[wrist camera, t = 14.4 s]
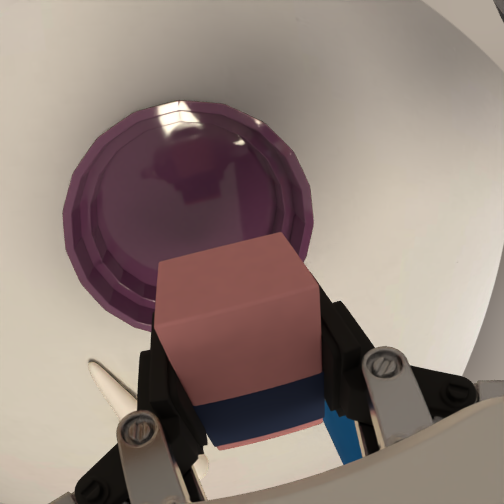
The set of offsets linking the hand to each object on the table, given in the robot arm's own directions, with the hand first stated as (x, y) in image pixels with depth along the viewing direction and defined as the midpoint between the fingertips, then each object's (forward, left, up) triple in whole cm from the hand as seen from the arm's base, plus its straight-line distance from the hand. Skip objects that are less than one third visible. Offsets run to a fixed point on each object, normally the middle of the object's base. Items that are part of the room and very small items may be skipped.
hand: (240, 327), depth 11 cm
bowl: (+1, -1, -13) cm, 13 cm away
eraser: (0, 0, 0) cm, 0 cm away
